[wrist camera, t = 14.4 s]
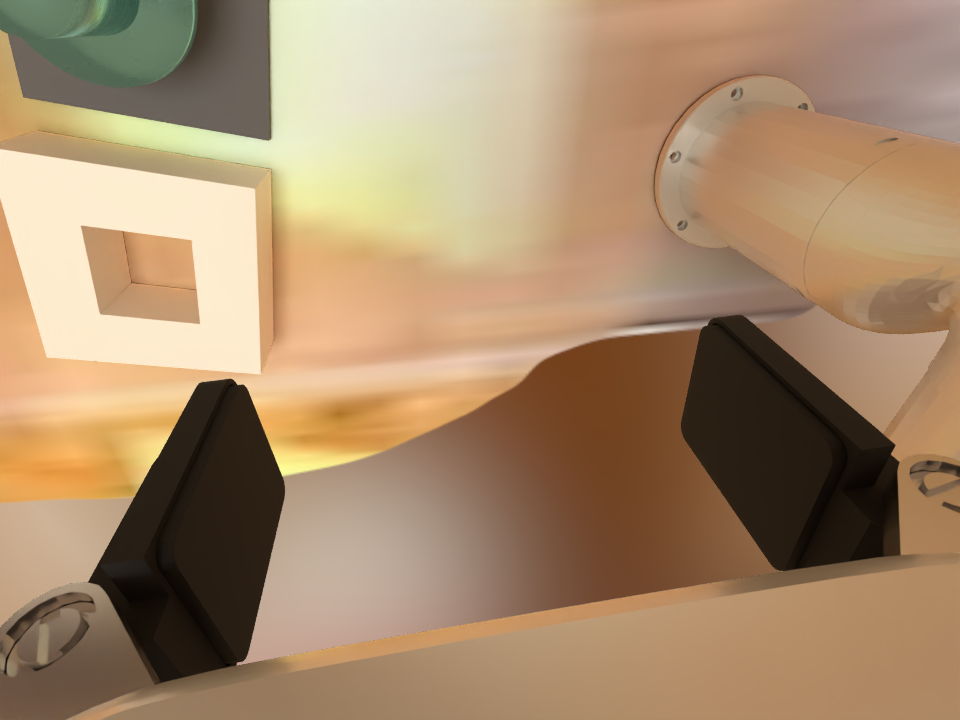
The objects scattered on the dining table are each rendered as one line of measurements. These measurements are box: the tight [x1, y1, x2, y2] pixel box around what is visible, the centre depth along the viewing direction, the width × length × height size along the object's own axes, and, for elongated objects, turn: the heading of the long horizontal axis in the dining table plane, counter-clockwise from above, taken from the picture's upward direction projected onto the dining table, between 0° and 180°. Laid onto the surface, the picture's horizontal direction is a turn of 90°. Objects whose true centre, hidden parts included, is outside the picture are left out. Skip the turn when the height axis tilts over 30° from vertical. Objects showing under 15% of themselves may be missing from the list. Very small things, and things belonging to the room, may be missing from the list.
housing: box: [0, 131, 274, 374], centre depth 36 cm, size 14×14×5 cm
